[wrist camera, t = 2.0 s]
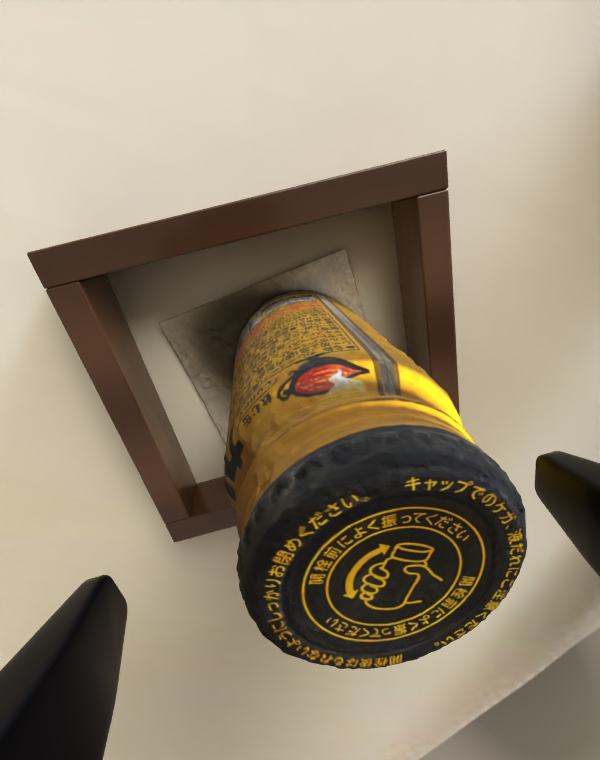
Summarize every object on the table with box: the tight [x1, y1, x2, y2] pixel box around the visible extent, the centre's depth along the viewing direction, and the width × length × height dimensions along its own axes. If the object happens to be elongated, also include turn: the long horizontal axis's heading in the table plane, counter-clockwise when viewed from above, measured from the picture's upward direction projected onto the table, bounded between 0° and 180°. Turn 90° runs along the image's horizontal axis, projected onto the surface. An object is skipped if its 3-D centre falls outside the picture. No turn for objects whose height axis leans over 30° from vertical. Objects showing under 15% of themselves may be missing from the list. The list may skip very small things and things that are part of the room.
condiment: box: [159, 249, 527, 669], centre depth 12 cm, size 7×8×12 cm
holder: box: [27, 150, 460, 542], centre depth 16 cm, size 13×14×2 cm
